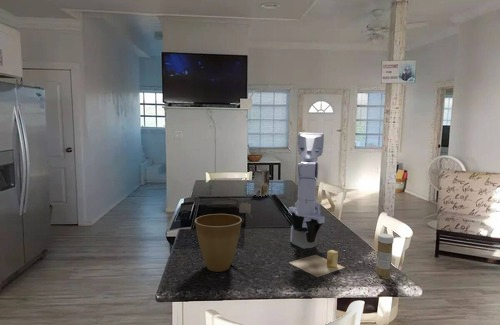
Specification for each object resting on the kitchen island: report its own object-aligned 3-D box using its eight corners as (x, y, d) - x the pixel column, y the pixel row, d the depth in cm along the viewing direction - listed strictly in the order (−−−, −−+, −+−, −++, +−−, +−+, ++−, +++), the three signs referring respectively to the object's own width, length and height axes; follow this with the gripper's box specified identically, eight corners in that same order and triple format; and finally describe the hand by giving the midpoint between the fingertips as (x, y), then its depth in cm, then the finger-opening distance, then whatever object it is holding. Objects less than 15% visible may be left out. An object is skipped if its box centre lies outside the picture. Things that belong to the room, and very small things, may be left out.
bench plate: (288, 265, 117) (288, 262, 117) (315, 257, 124) (315, 254, 124) (317, 280, 106) (317, 277, 106) (345, 270, 114) (345, 267, 114)
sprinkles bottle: (378, 272, 113) (381, 231, 112) (392, 276, 110) (396, 235, 109) (372, 276, 110) (375, 235, 108) (387, 281, 107) (390, 238, 105)
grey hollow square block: (292, 243, 116) (292, 228, 115) (304, 240, 119) (304, 225, 118) (304, 248, 111) (304, 233, 110) (316, 245, 114) (317, 230, 114)
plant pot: (237, 257, 122) (238, 213, 120) (243, 276, 108) (244, 225, 106) (194, 258, 120) (195, 213, 118) (194, 278, 105) (194, 226, 104)
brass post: (326, 268, 115) (327, 251, 114) (331, 267, 116) (332, 249, 115) (332, 271, 113) (333, 253, 112) (337, 269, 114) (338, 252, 114)
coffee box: (261, 193, 232) (261, 169, 230) (269, 194, 228) (270, 170, 226) (253, 195, 224) (253, 170, 223) (261, 197, 221) (262, 171, 219)
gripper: (282, 195, 117) (280, 235, 118) (314, 204, 105) (312, 248, 107) (297, 193, 121) (296, 231, 122) (330, 202, 109) (327, 244, 111)
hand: (304, 239), depth 115 cm, fingers closed on grey hollow square block, 6 cm apart
